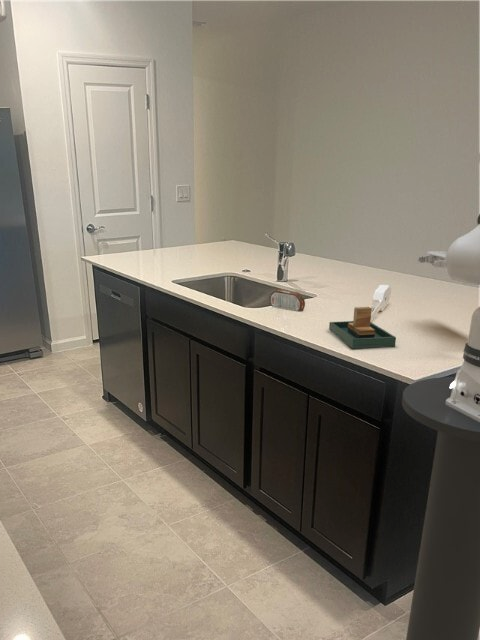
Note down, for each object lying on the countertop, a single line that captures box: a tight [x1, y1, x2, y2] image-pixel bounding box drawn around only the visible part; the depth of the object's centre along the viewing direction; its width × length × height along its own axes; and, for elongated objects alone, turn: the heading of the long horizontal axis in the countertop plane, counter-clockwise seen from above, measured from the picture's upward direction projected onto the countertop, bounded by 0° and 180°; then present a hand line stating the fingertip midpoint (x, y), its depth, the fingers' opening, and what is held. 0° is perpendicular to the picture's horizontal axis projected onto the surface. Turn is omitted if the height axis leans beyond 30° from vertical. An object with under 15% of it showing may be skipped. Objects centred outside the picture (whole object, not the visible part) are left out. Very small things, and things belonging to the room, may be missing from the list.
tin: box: [269, 288, 306, 312], centre depth 212 cm, size 15×3×8 cm, turn 47°
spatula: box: [370, 284, 392, 323], centre depth 200 cm, size 38×8×4 cm
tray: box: [328, 320, 397, 349], centre depth 177 cm, size 22×14×3 cm, turn 6°
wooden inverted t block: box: [348, 306, 375, 338], centre depth 176 cm, size 10×5×9 cm, turn 6°
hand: (426, 261), depth 171 cm, fingers open, 8 cm apart
